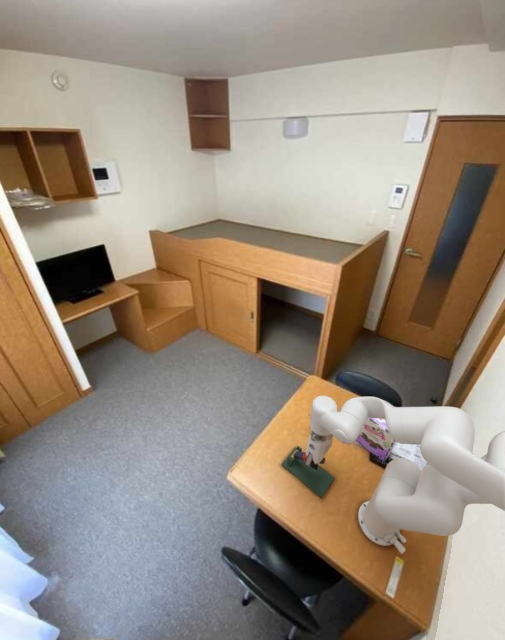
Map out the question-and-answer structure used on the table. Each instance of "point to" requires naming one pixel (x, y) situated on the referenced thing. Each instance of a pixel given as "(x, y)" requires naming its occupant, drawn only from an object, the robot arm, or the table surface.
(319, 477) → the stand
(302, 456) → the toy soldier
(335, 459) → the table surface
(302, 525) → the table surface
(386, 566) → the table surface
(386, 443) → the candy box
